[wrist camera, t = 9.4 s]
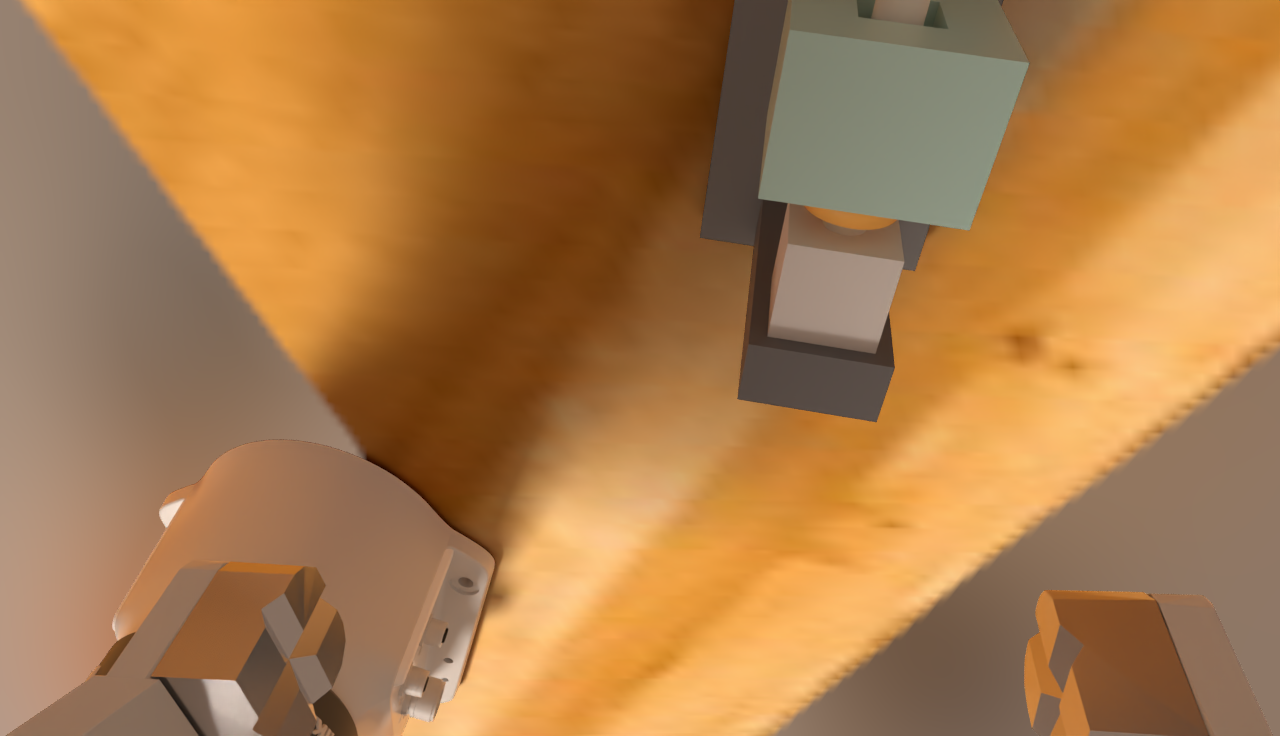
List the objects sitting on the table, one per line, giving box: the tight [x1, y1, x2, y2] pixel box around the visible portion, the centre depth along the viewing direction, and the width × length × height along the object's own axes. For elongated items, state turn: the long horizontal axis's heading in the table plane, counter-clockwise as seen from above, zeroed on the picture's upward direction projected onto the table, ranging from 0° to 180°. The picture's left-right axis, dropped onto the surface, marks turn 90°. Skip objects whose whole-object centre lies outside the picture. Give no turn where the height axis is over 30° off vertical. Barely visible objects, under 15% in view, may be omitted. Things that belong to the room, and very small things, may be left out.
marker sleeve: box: [758, 0, 1030, 230], centre depth 22 cm, size 4×5×5 cm
